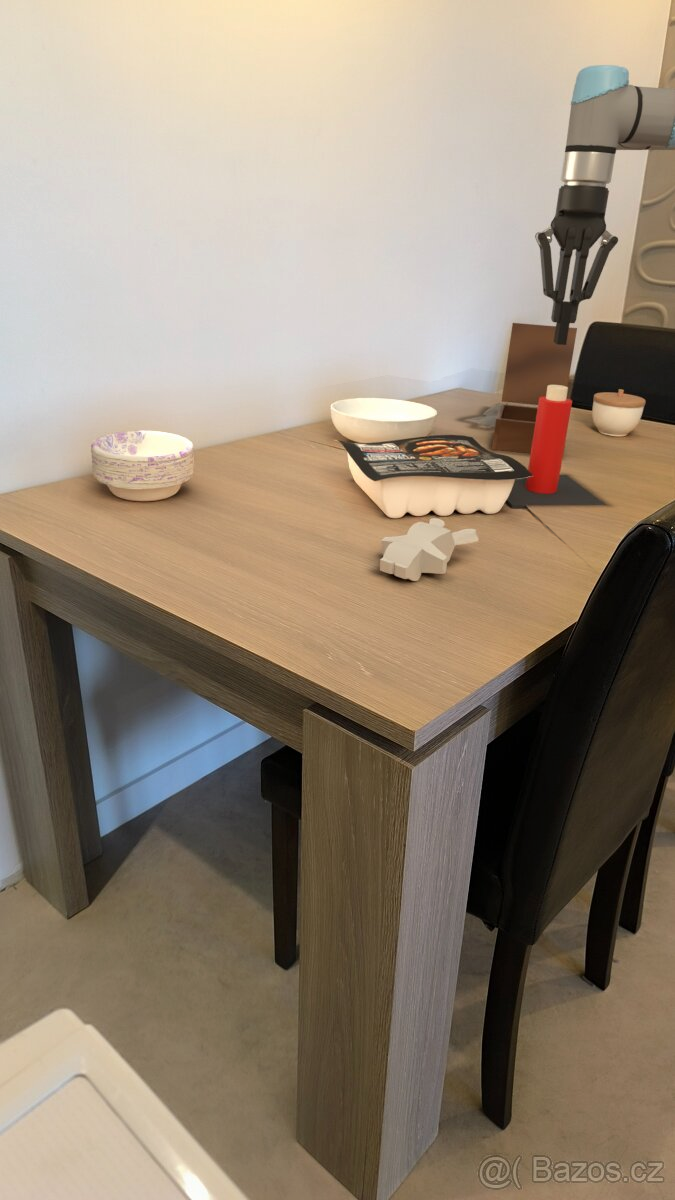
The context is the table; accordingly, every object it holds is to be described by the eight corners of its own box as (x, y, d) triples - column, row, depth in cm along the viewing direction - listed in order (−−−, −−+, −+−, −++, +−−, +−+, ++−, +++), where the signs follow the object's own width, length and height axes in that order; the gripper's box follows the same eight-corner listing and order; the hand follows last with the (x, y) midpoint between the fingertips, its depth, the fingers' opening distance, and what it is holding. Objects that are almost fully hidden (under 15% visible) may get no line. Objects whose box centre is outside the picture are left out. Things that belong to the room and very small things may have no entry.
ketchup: (549, 484, 142) (566, 383, 134) (561, 493, 137) (580, 390, 130) (520, 484, 141) (536, 383, 133) (532, 493, 136) (548, 389, 129)
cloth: (509, 436, 173) (510, 426, 172) (449, 425, 179) (450, 415, 178) (550, 416, 193) (551, 406, 192) (495, 406, 199) (496, 397, 198)
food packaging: (472, 433, 143) (534, 471, 123) (467, 475, 146) (526, 518, 127) (333, 435, 136) (375, 476, 117) (331, 479, 140) (371, 526, 120)
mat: (566, 478, 148) (566, 475, 147) (605, 508, 133) (606, 504, 133) (480, 478, 145) (480, 474, 145) (511, 508, 131) (512, 504, 130)
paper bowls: (174, 513, 121) (172, 460, 117) (77, 502, 123) (72, 450, 119) (208, 483, 134) (207, 435, 131) (119, 473, 136) (116, 426, 133)
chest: (557, 461, 158) (563, 425, 155) (491, 453, 160) (496, 418, 157) (558, 442, 170) (563, 409, 168) (496, 436, 173) (501, 403, 170)
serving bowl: (449, 440, 168) (453, 406, 165) (408, 463, 151) (412, 426, 148) (357, 424, 176) (359, 391, 173) (309, 444, 159) (310, 409, 156)
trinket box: (632, 442, 174) (641, 397, 170) (582, 433, 179) (590, 389, 175) (642, 432, 183) (651, 389, 179) (594, 424, 187) (602, 382, 183)
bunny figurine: (361, 542, 103) (427, 501, 113) (362, 577, 106) (426, 535, 116) (425, 563, 98) (488, 519, 108) (424, 600, 101) (485, 553, 111)
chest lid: (577, 328, 163) (577, 328, 164) (512, 322, 165) (512, 323, 166) (564, 407, 167) (564, 407, 168) (501, 401, 169) (501, 401, 170)
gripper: (619, 187, 131) (592, 342, 141) (537, 183, 131) (516, 338, 141) (634, 186, 124) (604, 348, 134) (547, 182, 124) (525, 344, 134)
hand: (559, 343), depth 138 cm, fingers closed
